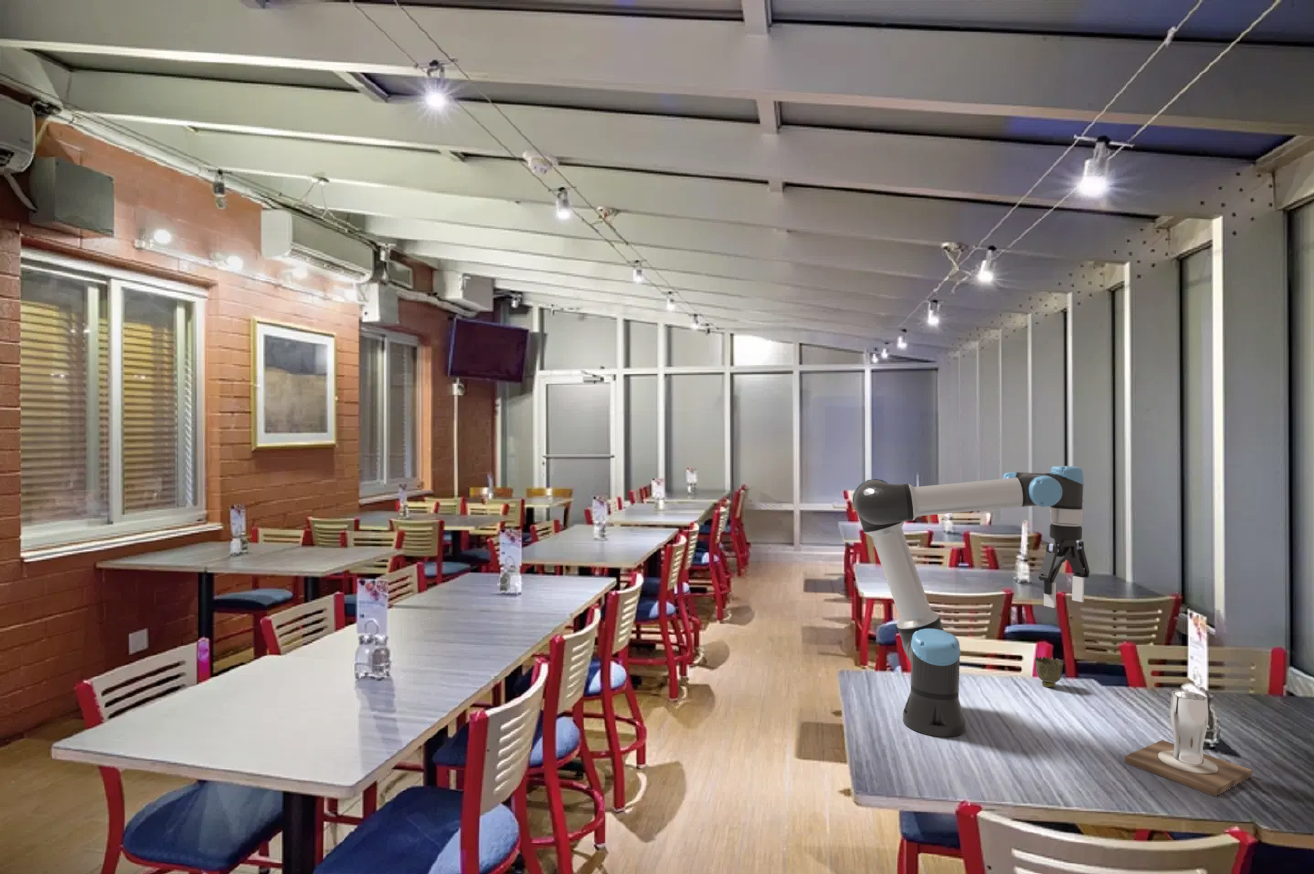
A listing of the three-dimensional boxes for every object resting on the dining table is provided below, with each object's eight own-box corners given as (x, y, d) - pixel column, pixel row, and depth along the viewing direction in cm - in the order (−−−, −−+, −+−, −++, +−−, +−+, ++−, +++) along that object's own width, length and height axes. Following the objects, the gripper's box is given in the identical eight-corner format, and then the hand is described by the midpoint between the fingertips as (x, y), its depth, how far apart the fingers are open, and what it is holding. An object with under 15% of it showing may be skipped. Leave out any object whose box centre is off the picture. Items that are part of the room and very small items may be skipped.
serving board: (1216, 796, 153) (1216, 787, 153) (1124, 762, 168) (1124, 754, 168) (1252, 776, 162) (1252, 768, 162) (1162, 746, 178) (1162, 738, 178)
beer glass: (1200, 757, 168) (1201, 692, 167) (1212, 770, 161) (1213, 702, 161) (1164, 752, 170) (1166, 688, 170) (1175, 764, 163) (1176, 698, 163)
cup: (1066, 691, 215) (1067, 664, 215) (1039, 689, 216) (1040, 662, 216) (1057, 683, 222) (1058, 657, 222) (1031, 681, 223) (1032, 655, 223)
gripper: (1077, 520, 203) (1075, 596, 203) (1025, 524, 190) (1023, 605, 190) (1105, 523, 197) (1103, 601, 197) (1053, 528, 184) (1051, 612, 184)
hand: (1063, 603), depth 194 cm, fingers open, 13 cm apart
